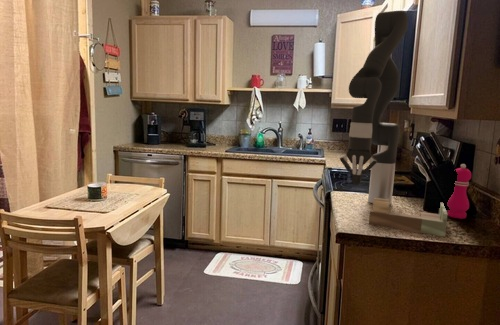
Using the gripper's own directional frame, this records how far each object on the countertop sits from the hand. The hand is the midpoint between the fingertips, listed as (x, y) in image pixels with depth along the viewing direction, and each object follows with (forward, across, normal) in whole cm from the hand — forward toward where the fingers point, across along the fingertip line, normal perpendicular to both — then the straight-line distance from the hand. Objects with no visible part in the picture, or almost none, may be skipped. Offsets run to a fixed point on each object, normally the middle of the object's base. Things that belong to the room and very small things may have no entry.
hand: (356, 184), depth 130 cm
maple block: (+9, -9, 0) cm, 13 cm away
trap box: (+12, -17, -3) cm, 21 cm away
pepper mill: (+12, -35, -22) cm, 43 cm away
